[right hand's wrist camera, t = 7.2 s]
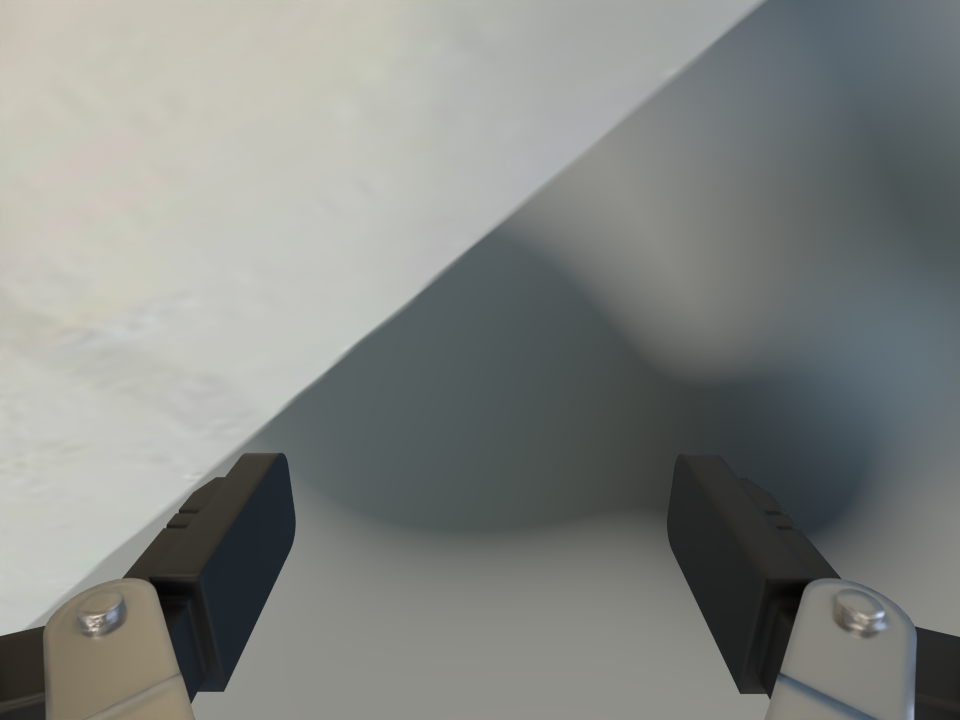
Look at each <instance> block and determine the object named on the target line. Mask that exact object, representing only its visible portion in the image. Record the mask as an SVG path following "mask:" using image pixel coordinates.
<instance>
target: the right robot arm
mask: <svg viewBox="0 0 960 720" xmlns="http://www.w3.org/2000/svg"><path fill="white" fill-rule="evenodd" d="M295 526H296V520H295V510H294V503H293V496H292V489H291V482H290V475H289V468H288V462H287V459H286V456H285V455H284V454H283V453H245V454H243V455H242V456H241V457H240V459H239V460H238V461H237V462H236V464H235V465H234V466H233V468H232V469H231V470H230V472H229V473H228V474H227V475H226V477H216V478H214V479H213V480H212V481H210V482H208V483H207V484H205V485H204V486H202V487H201V488H199V489H198V490H196V491H195V492H193V494H192V495H191V496H190V497H189V498H188V500H187V501H186V502H185V503H184V504H183V506H182V507H181V508H180V509H179V513H178V514H175V515H174V516H173V518H172V519H171V520H170V521H169V522H168V524H167V527H166V528H164V529H163V530H162V531H161V532H160V533H159V535H158V536H157V537H156V538H155V539H154V541H153V542H152V543H151V544H150V545H149V547H148V548H147V549H146V550H145V551H144V553H143V554H142V555H141V556H140V557H139V559H138V560H137V561H136V562H135V564H134V565H133V566H132V567H131V568H130V570H129V571H128V572H127V573H126V574H125V576H124V577H123V578H122V579H117V580H113V581H108V582H105V583H102V584H99V585H96V586H94V587H91V588H89V589H87V590H85V591H83V592H81V593H79V594H78V595H76V596H75V597H73V598H71V599H70V600H69V601H67V602H66V603H65V604H63V605H62V606H61V607H60V608H59V609H58V610H57V611H56V612H55V613H54V614H53V615H52V617H51V618H50V619H49V621H48V622H47V624H46V626H42V627H38V628H34V629H29V630H25V631H20V632H16V633H12V634H7V635H3V636H0V720H195V717H194V713H193V710H192V707H191V703H192V701H193V699H194V697H195V695H196V694H197V692H224V690H225V688H226V686H227V684H228V682H229V680H230V677H231V675H232V673H233V671H234V669H235V667H236V665H237V663H238V660H239V658H240V656H241V654H242V652H243V650H244V648H245V646H246V643H247V641H248V639H249V637H250V635H251V633H252V631H253V628H254V626H255V624H256V622H257V620H258V618H259V616H260V614H261V611H262V609H263V607H264V605H265V603H266V601H267V599H268V596H269V594H270V592H271V590H272V588H273V586H274V584H275V582H276V580H277V577H278V575H279V573H280V571H281V569H282V567H283V565H284V562H285V560H286V558H287V556H288V554H289V552H290V550H291V547H292V544H293V540H294V536H295ZM667 530H668V537H669V542H670V546H671V549H672V551H673V553H674V555H675V557H676V560H677V562H678V564H679V566H680V568H681V570H682V572H683V574H684V576H685V578H686V580H687V583H688V585H689V587H690V589H691V591H692V593H693V595H694V597H695V599H696V602H697V604H698V606H699V608H700V610H701V612H702V614H703V616H704V618H705V620H706V623H707V625H708V627H709V629H710V631H711V633H712V635H713V637H714V639H715V642H716V644H717V646H718V648H719V650H720V652H721V654H722V656H723V658H724V661H725V663H726V665H727V667H728V669H729V671H730V673H731V675H732V677H733V679H734V682H735V684H736V686H737V688H738V690H739V692H740V694H767V695H768V697H769V699H770V703H769V707H768V710H767V713H766V717H765V720H960V637H957V636H953V635H949V634H944V633H940V632H936V631H931V630H927V629H923V628H919V627H915V626H914V624H913V623H912V621H911V619H910V618H909V617H908V615H907V614H906V613H905V612H904V611H903V610H902V609H901V608H900V607H899V606H898V605H897V604H895V603H894V602H893V601H891V600H890V599H889V598H887V597H885V596H884V595H882V594H881V593H879V592H877V591H875V590H873V589H871V588H869V587H866V586H864V585H861V584H858V583H855V582H851V581H848V580H843V579H841V578H840V577H839V575H838V574H837V573H836V572H835V571H834V569H833V568H832V567H831V566H830V565H829V563H828V562H827V561H826V560H825V559H824V557H823V556H822V555H821V554H820V553H819V551H818V550H817V549H816V548H815V547H814V545H813V544H812V543H811V542H810V541H809V539H808V538H807V537H806V536H805V535H804V533H803V532H802V531H801V530H798V529H797V525H796V524H795V523H794V521H793V520H792V519H791V518H790V517H789V515H785V511H784V509H783V508H782V507H781V506H780V505H779V503H778V502H777V501H776V500H775V499H774V497H773V496H772V495H771V494H770V493H769V492H767V491H766V490H764V489H762V488H761V487H759V486H758V485H756V484H755V483H753V482H752V481H750V480H749V479H747V478H738V477H737V476H736V475H735V473H734V472H733V471H732V469H731V468H730V467H729V466H728V464H727V463H726V462H725V460H724V459H723V458H722V457H721V456H720V455H719V454H680V455H679V456H678V457H677V460H676V463H675V469H674V476H673V483H672V489H671V496H670V503H669V510H668V518H667Z"/></svg>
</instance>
